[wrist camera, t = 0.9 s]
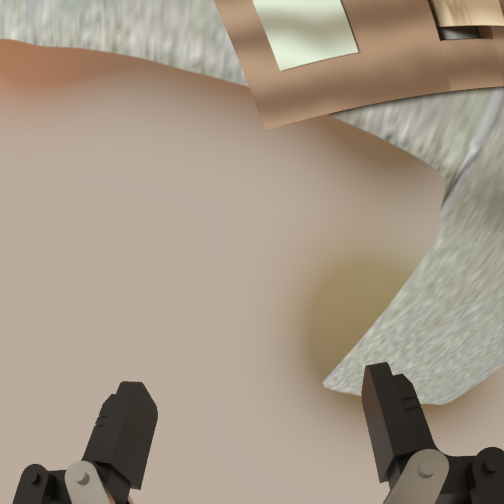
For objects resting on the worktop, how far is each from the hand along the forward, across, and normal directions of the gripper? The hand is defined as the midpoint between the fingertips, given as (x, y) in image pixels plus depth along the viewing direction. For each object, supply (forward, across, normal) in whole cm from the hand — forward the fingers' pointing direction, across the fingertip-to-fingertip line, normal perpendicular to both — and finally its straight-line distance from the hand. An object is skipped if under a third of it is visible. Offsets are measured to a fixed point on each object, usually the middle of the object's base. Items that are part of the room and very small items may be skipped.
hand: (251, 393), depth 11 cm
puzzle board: (+25, -15, -17) cm, 34 cm away
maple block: (+24, -23, -19) cm, 38 cm away
